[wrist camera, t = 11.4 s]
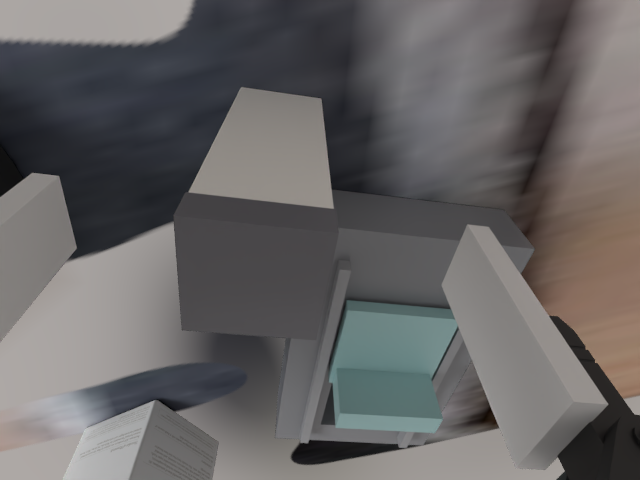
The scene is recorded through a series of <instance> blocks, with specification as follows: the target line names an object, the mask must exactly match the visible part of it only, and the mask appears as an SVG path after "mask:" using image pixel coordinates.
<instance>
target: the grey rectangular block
mask: <svg viewBox="0 0 640 480" xmlns="http://www.w3.org/2000/svg"><path fill="white" fill-rule="evenodd" d="M173 218H174V231H175V245H176V258H177V271H178V284H179V297H180V311H181V325H182V330H186V331H199V332H212V333H225V334H238V335H252V336H264V337H278V338H291V339H304V340H316V339H317V334H318V329H319V325H320V320H321V315H322V310H323V306H324V301H325V296H326V292H327V287H328V282H329V278H330V273H331V268H332V263H333V259H334V254H335V249H336V245H337V240H338V235H339V230H338V222H337V214H336V209H334V207H333V198H332V189H331V180H330V172H329V163H328V154H327V145H326V136H325V127H324V118H323V109H322V101H321V98H314V97H307V96H300V95H293V94H286V93H279V92H272V91H265V90H258V89H251V88H245V87H241V88H240V90H239V92H238V94H237V96H236V98H235V100H234V102H233V104H232V106H231V108H230V110H229V112H228V114H227V116H226V118H225V120H224V122H223V124H222V126H221V128H220V130H219V132H218V134H217V136H216V138H215V140H214V142H213V144H212V146H211V148H210V150H209V152H208V154H207V156H206V158H205V160H204V162H203V164H202V166H201V168H200V170H199V172H198V174H197V176H196V178H195V180H194V182H193V184H192V186H191V188H190V190H189V192H185V194H184V196H183V198H182V200H181V202H180V204H179V206H178V208H177V210H176V212H175V213H174V215H173Z"/></svg>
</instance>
